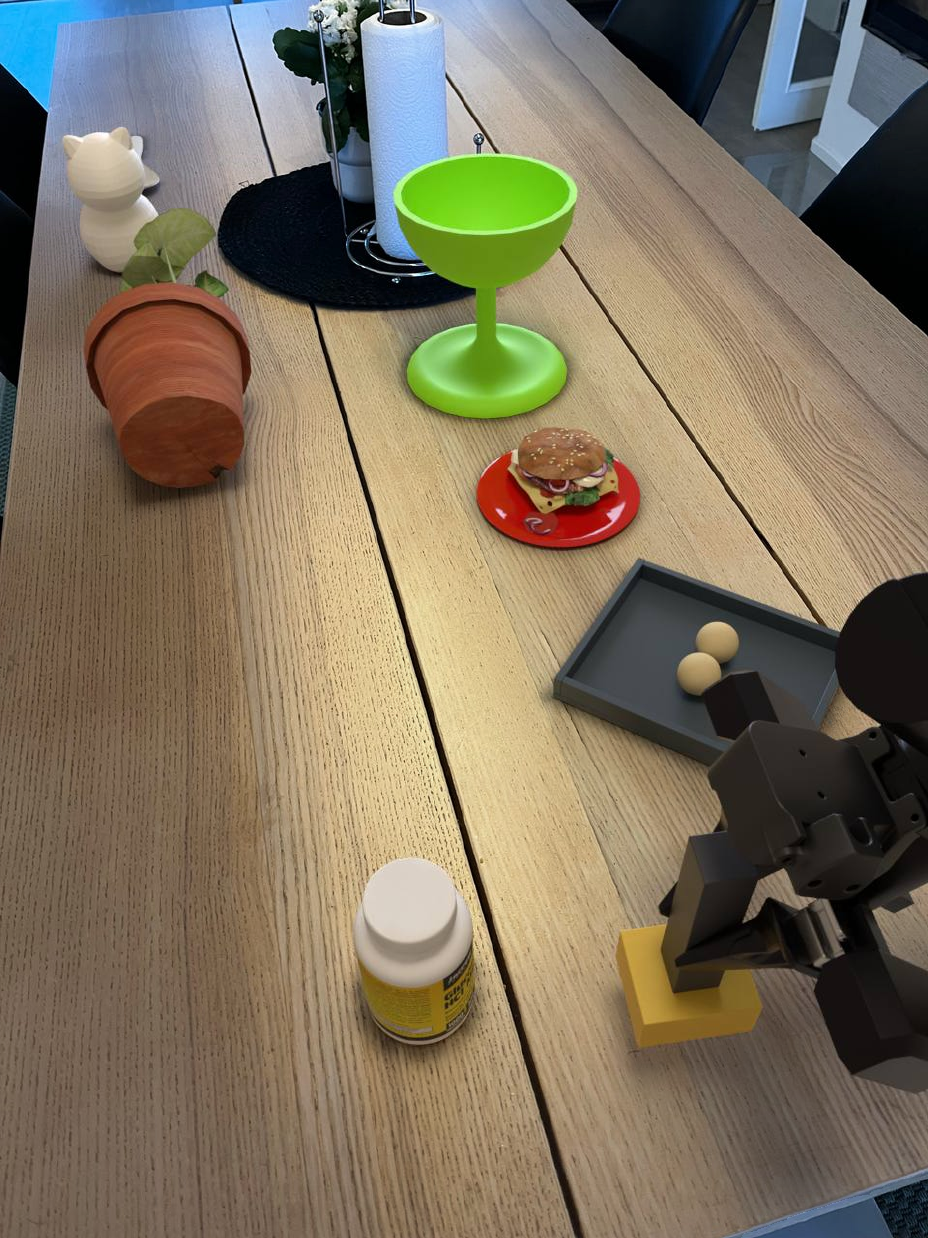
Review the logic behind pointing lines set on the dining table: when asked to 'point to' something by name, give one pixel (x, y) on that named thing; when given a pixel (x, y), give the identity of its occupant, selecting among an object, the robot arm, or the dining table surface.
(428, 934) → the pill bottle
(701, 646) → the crumb
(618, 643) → the tray
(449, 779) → the dining table surface
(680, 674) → the crumb
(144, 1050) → the dining table surface
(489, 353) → the wineglass
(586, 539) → the hamburger
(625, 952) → the grey and yellow block
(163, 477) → the potted plant
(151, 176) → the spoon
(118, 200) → the cat figurine
